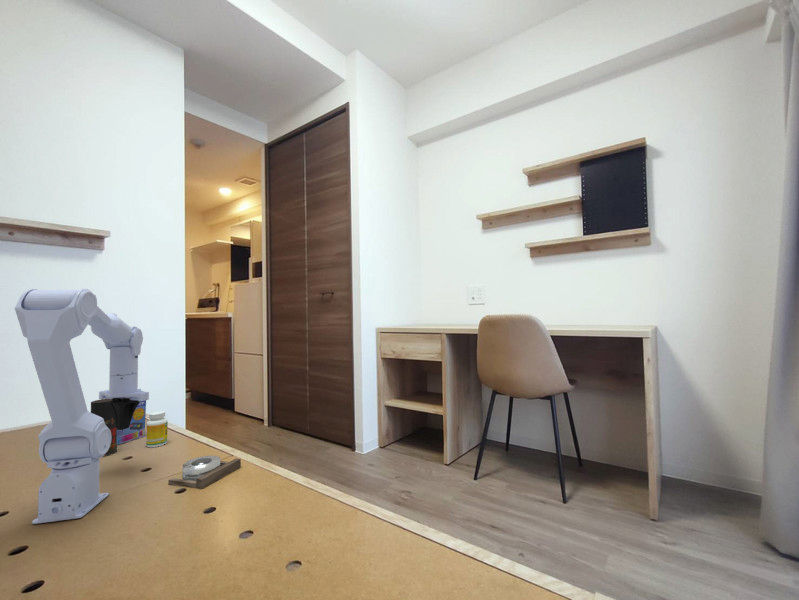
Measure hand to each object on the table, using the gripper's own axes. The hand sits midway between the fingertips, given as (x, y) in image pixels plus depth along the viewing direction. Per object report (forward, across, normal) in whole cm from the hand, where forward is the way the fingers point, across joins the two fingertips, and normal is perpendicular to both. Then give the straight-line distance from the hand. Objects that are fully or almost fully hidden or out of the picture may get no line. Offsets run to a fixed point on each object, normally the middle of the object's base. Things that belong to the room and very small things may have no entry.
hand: (123, 428), depth 90 cm
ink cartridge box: (+11, +24, -18) cm, 32 cm away
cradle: (+10, -23, -3) cm, 25 cm away
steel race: (+11, -21, -3) cm, 24 cm away
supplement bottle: (+11, +10, -17) cm, 23 cm away
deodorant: (+11, +18, -8) cm, 23 cm away
